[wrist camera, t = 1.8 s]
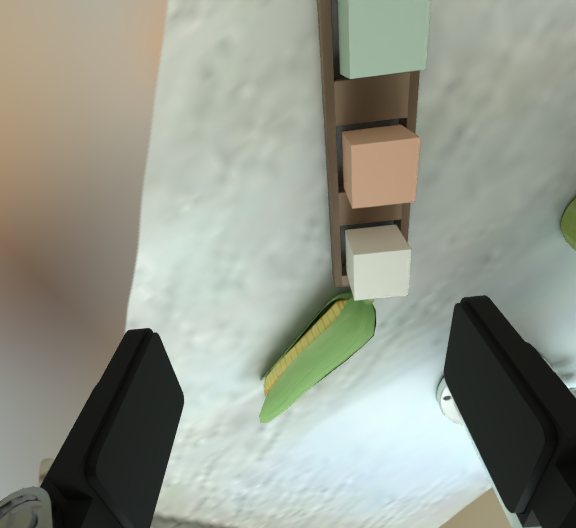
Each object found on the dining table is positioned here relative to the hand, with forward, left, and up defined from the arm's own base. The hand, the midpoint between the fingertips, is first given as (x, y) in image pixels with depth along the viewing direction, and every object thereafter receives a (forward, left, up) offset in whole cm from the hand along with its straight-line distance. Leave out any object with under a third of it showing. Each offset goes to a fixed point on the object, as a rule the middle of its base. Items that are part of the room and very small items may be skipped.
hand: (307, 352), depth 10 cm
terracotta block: (-6, 0, -18) cm, 19 cm away
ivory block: (-6, +8, -18) cm, 20 cm away
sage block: (-6, -8, -18) cm, 20 cm away
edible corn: (+1, +20, -21) cm, 29 cm away
